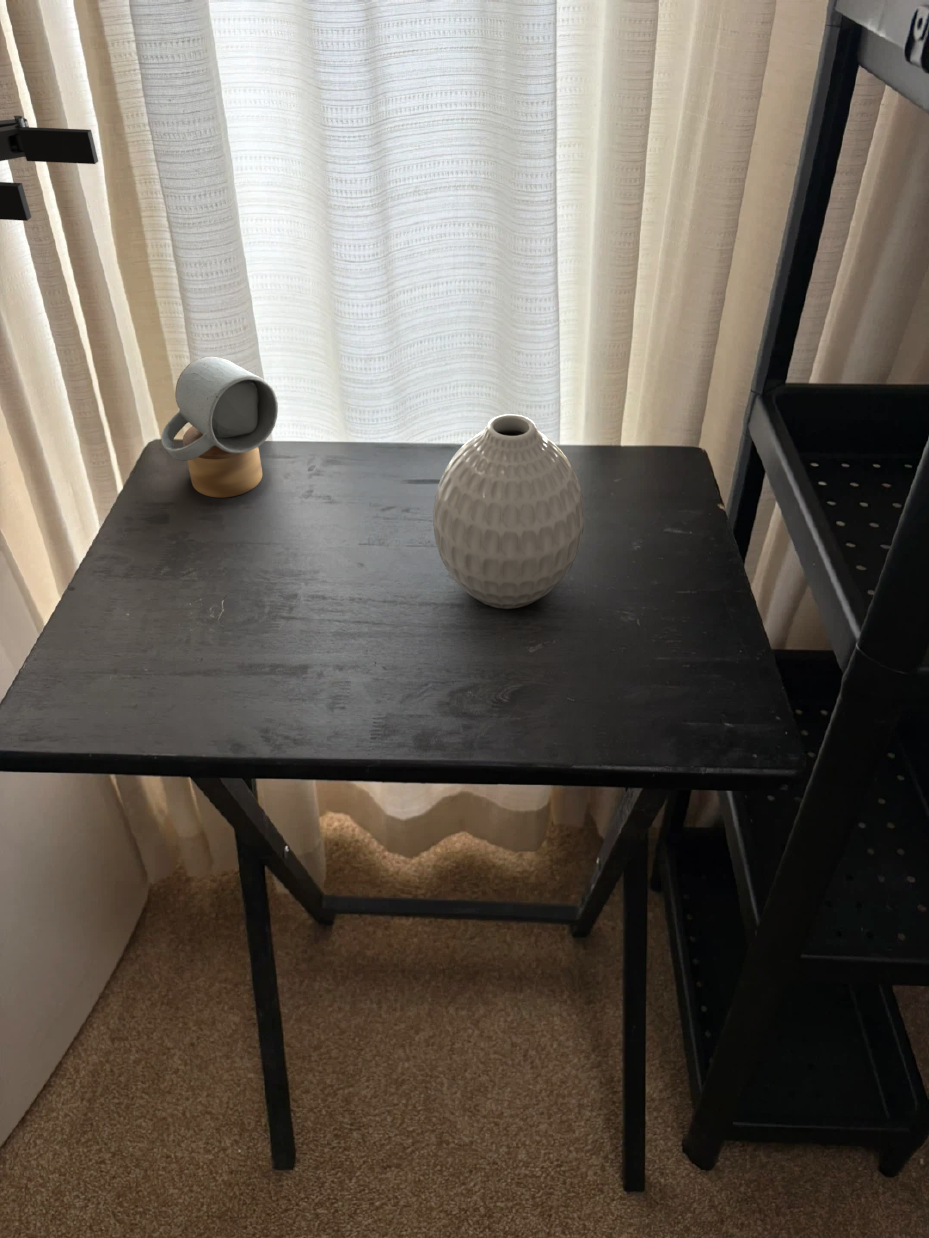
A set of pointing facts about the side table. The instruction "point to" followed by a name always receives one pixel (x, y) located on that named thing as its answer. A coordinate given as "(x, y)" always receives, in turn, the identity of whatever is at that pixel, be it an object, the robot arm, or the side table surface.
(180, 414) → the ceramic mug
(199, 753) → the side table surface
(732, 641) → the side table surface
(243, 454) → the oak stand
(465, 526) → the vase
